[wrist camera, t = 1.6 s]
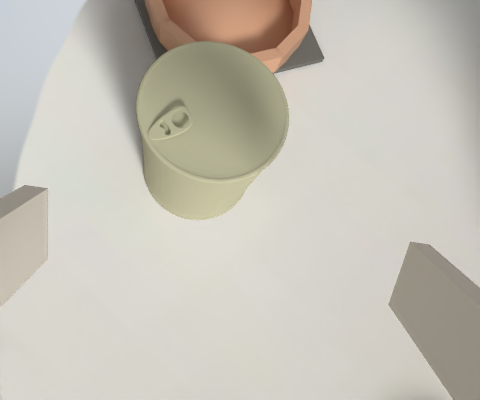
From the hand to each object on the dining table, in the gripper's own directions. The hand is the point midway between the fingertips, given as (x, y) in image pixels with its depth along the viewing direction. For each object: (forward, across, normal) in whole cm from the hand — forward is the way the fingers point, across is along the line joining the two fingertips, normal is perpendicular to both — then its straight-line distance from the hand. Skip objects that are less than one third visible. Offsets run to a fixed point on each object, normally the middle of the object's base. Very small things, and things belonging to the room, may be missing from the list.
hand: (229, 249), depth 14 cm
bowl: (+28, +2, -11) cm, 30 cm away
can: (+20, +2, +2) cm, 20 cm away
